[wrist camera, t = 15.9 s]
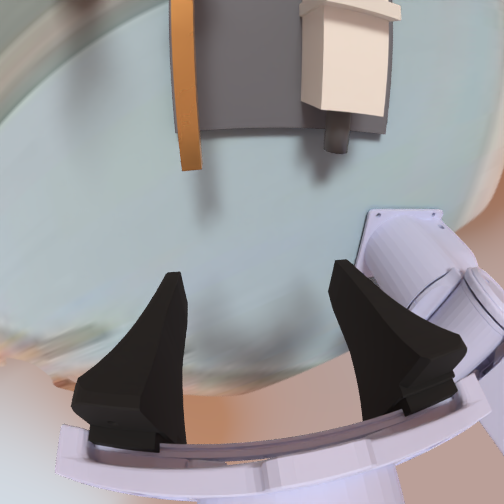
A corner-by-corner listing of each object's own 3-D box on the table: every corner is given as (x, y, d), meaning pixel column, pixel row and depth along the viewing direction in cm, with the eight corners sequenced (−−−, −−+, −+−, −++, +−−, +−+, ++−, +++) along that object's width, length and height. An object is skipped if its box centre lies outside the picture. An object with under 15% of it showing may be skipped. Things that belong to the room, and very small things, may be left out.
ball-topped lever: (215, 162, 14) (215, 169, 14) (171, 166, 14) (168, 174, 13) (210, -83, 5) (209, -92, 4) (163, -77, 5) (159, -85, 4)
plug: (356, -53, 9) (391, -74, 5) (352, 143, 19) (387, 168, 15) (297, -66, 8) (319, -96, 4) (296, 141, 19) (319, 165, 14)
